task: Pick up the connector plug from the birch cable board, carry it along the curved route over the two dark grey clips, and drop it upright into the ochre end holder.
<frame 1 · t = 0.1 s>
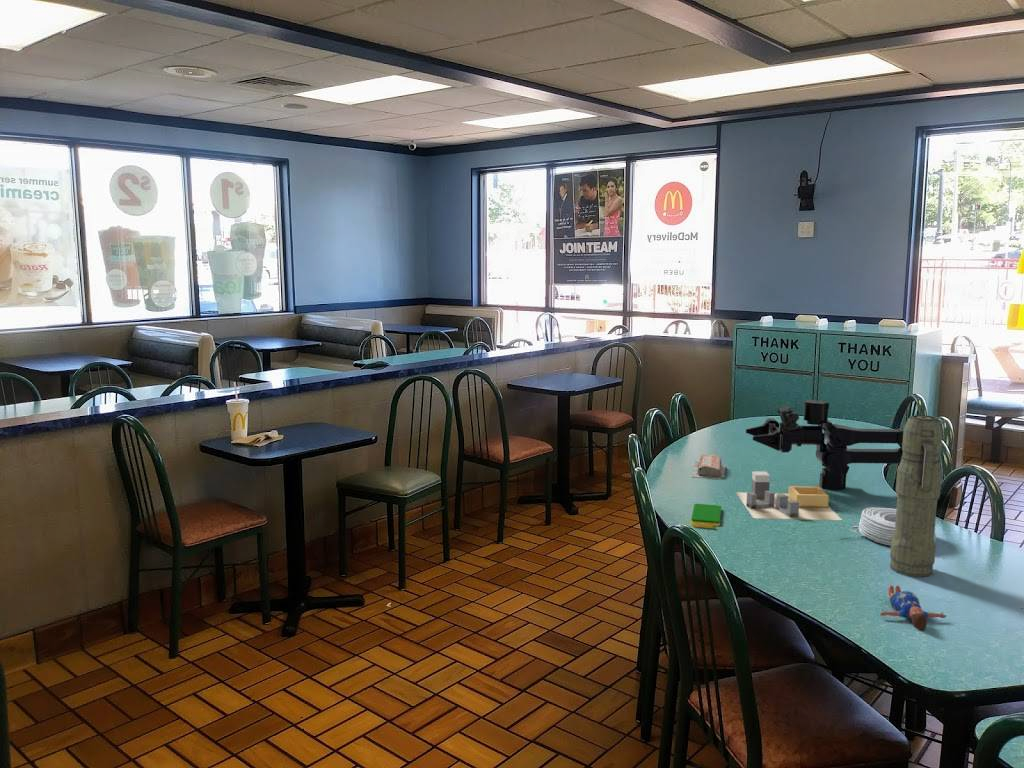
hand: (749, 434, 241), 17 cm above the table, tool horizontal, fingers open, 9 cm apart
packaged product: (708, 475, 260), on the table
toy character: (907, 616, 160), on the table
connector plug: (759, 496, 232), point 1 cm above the table, touching cable board
clip 1: (760, 506, 224), resting on cable board
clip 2: (787, 512, 218), resting on cable board
end holder: (807, 503, 227), resting on cable board
dish sponge: (706, 521, 216), on the table
thermos: (911, 570, 182), on the table
cable board: (786, 508, 225), on the table
cable: (896, 539, 202), on the table
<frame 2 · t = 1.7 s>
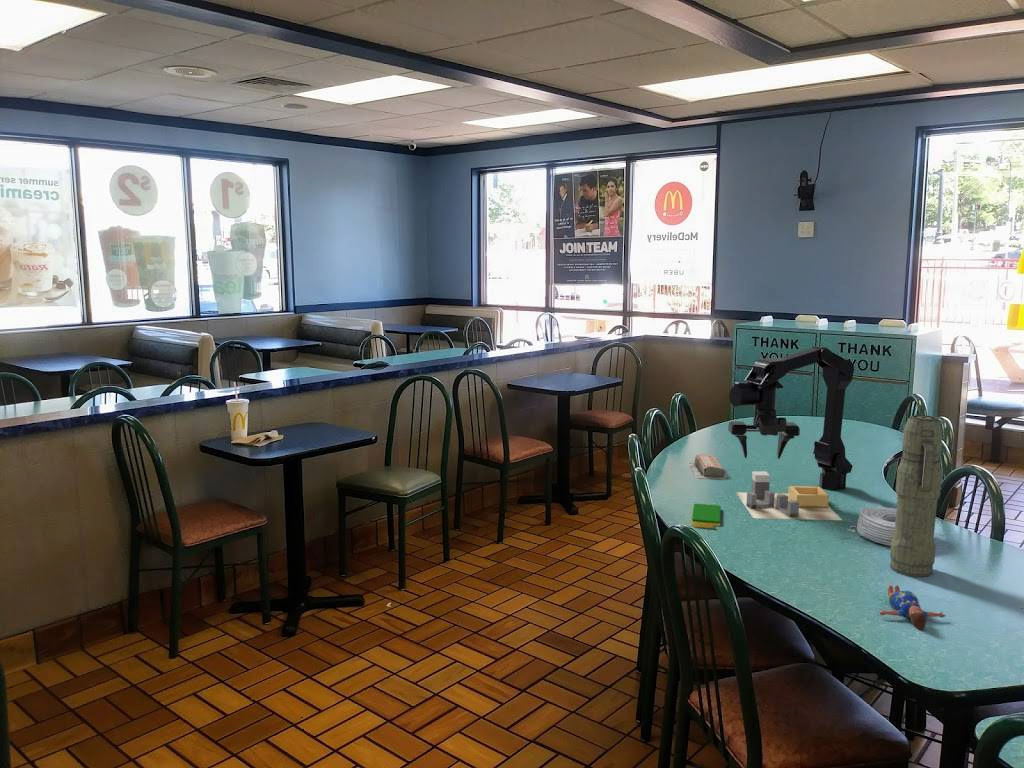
hand: (762, 458, 231), 12 cm above the table, tool pointing down, fingers open, 9 cm apart
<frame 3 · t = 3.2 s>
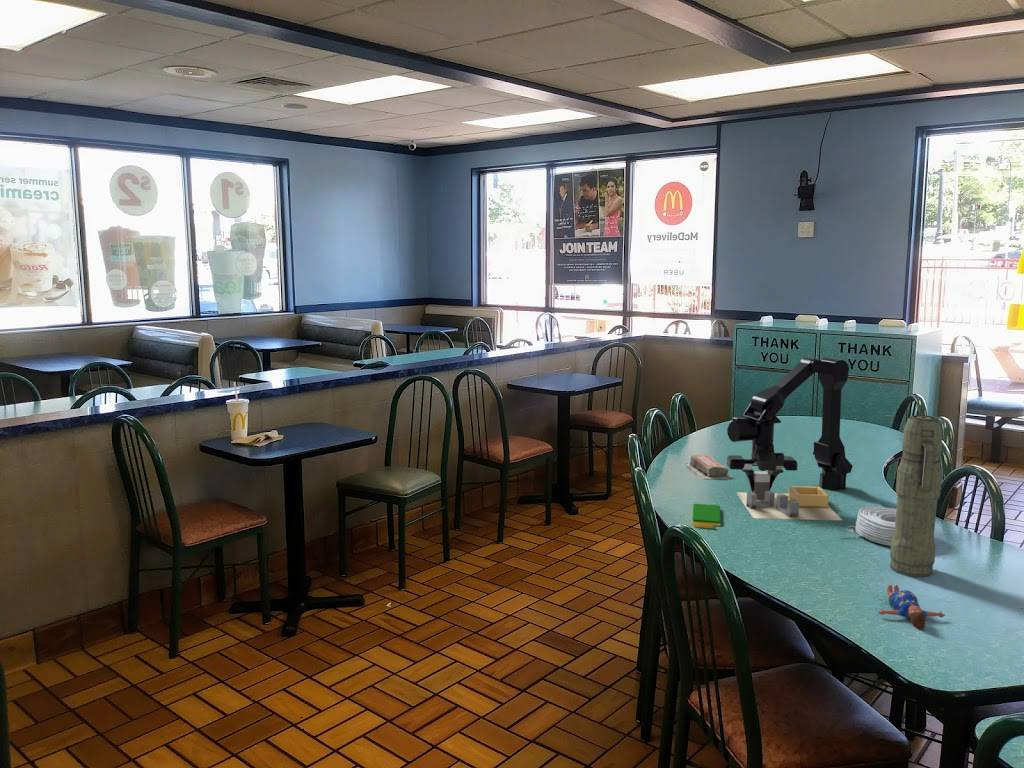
hand: (760, 491, 232), 2 cm above the table, tool pointing down, fingers closed on connector plug, 4 cm apart
connector plug: (759, 496, 232), point 1 cm above the table, touching cable board, gripper
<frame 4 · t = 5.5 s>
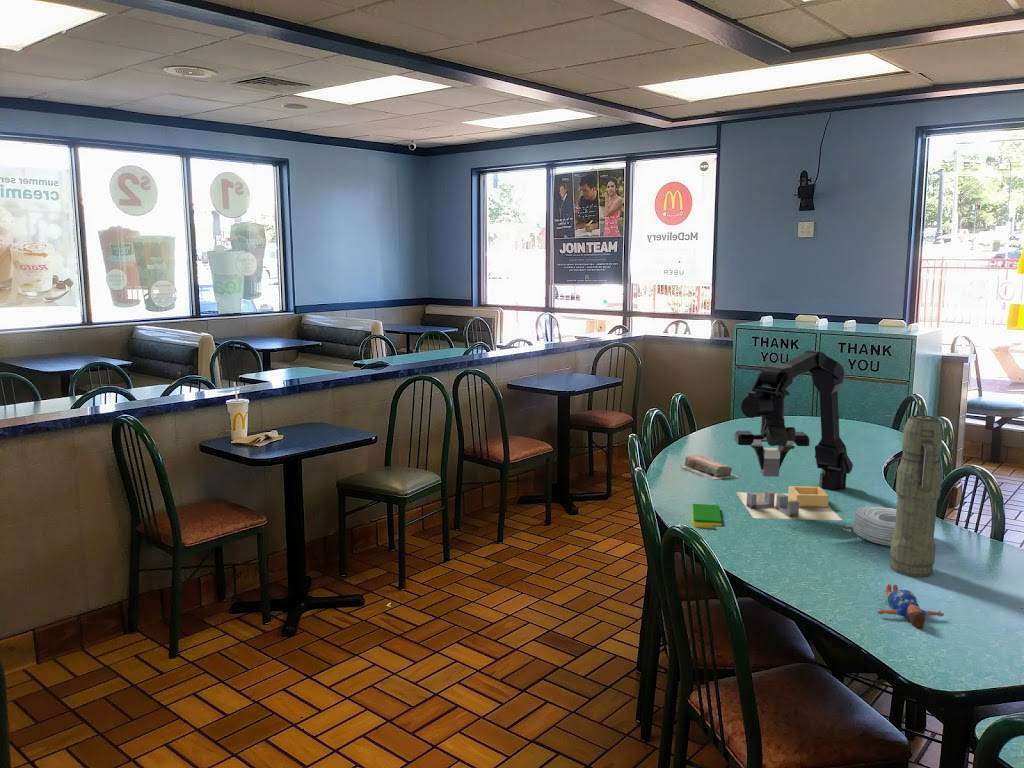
hand: (769, 469, 220), 12 cm above the table, tool pointing down, fingers closed on connector plug, 4 cm apart
connector plug: (769, 474, 221), point 10 cm above the table, touching gripper
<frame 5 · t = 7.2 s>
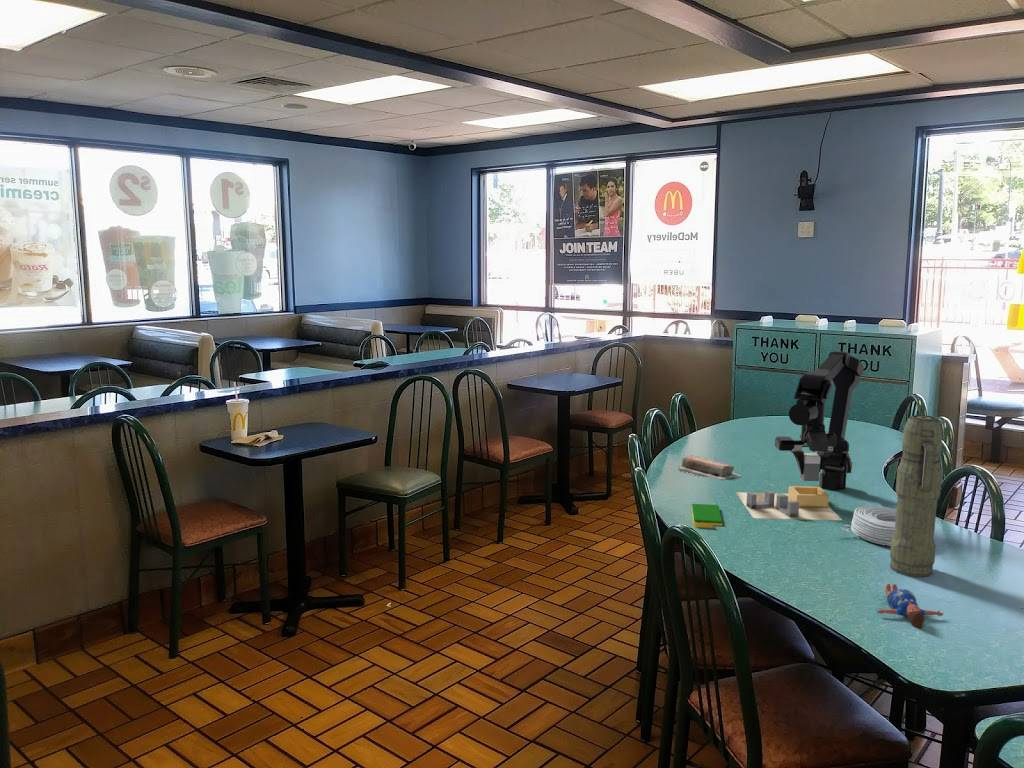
hand: (809, 474, 225), 9 cm above the table, tool pointing down, fingers closed on connector plug, 4 cm apart
connector plug: (809, 479, 226), point 8 cm above the table, touching gripper
when the fingers open (5 cm above the table, at t = 8.1 s): connector plug drops 3 cm, resting on end holder.
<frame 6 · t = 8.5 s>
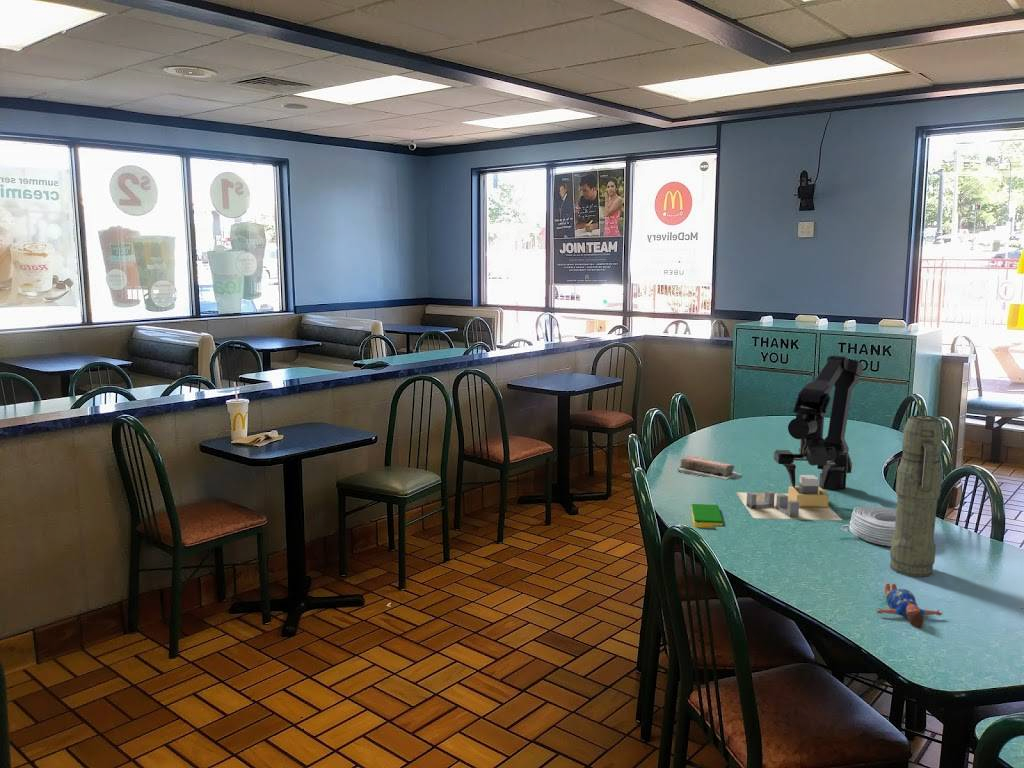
hand: (808, 487, 226), 5 cm above the table, tool pointing down, fingers open, 8 cm apart
connector plug: (807, 501, 227), point 1 cm above the table, touching end holder
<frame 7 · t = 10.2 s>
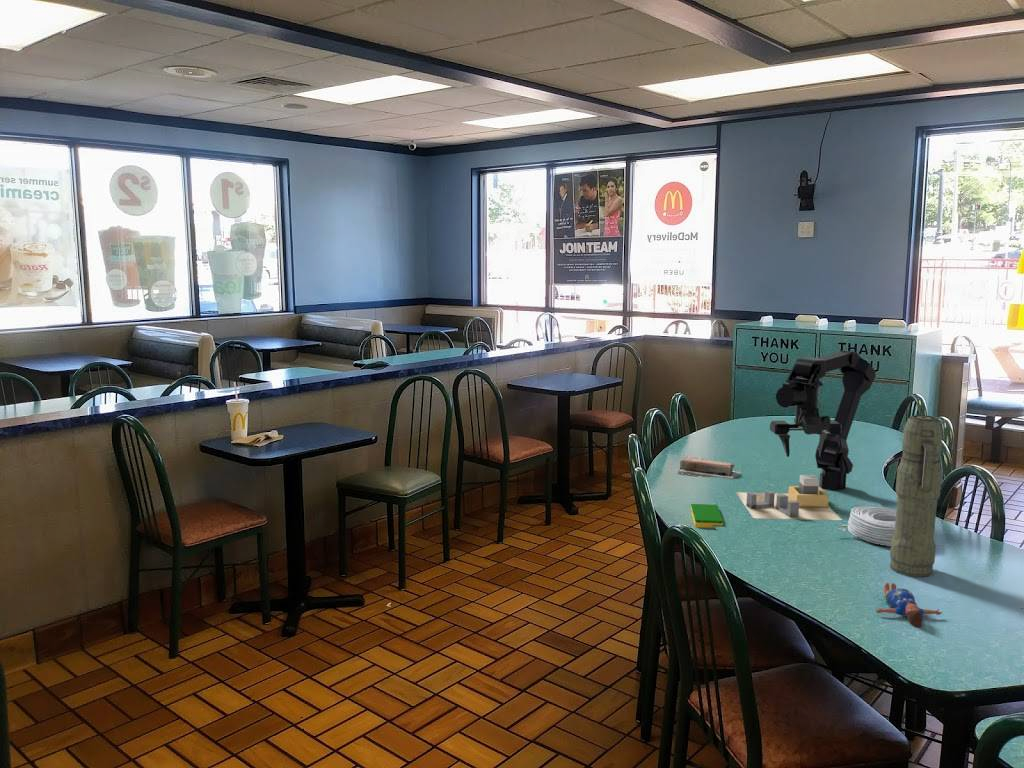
hand: (804, 456, 231), 13 cm above the table, tool pointing down, fingers open, 9 cm apart
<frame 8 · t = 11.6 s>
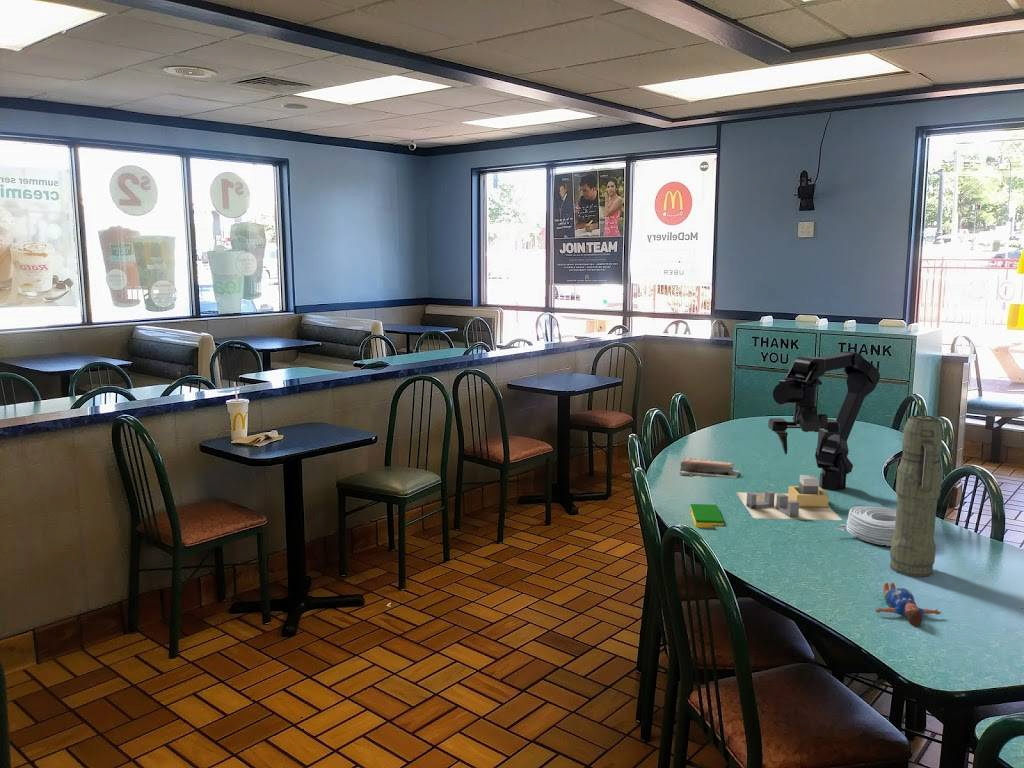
hand: (802, 454, 233), 13 cm above the table, tool pointing down, fingers open, 9 cm apart
at the end: connector plug 0.0 cm off-centre on the end holder, point 0.6 cm above the end holder's base; connector plug tilted 0°; the gripper is holding nothing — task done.
